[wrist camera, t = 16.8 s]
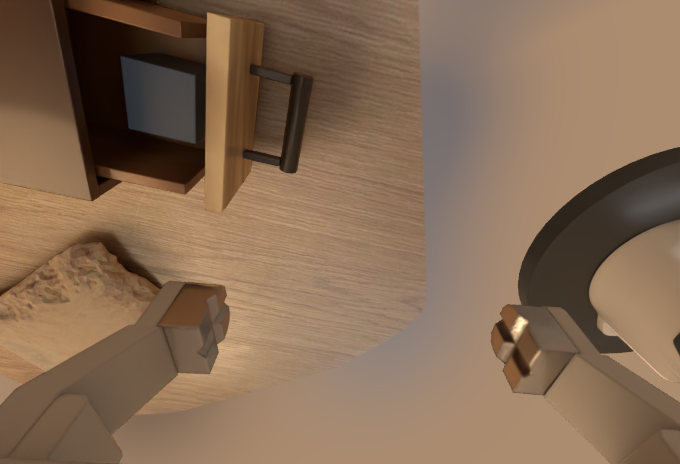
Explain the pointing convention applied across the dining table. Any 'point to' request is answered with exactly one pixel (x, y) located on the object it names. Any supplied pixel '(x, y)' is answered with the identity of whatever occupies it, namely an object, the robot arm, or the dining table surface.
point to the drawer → (221, 96)
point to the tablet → (71, 305)
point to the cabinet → (43, 104)
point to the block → (165, 96)
